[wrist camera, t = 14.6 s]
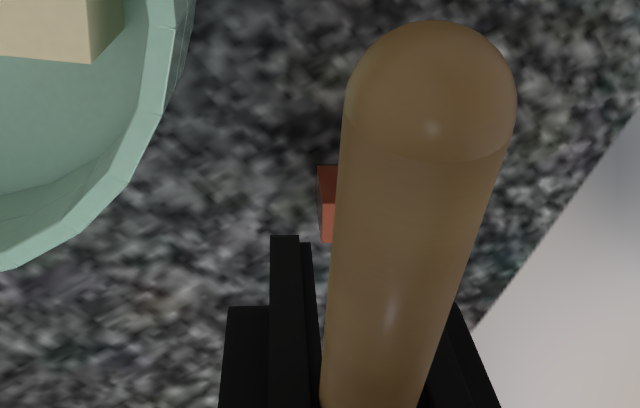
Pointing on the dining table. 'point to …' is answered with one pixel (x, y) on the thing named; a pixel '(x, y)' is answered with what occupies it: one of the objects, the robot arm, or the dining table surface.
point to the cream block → (59, 28)
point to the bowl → (83, 127)
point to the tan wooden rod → (409, 204)
